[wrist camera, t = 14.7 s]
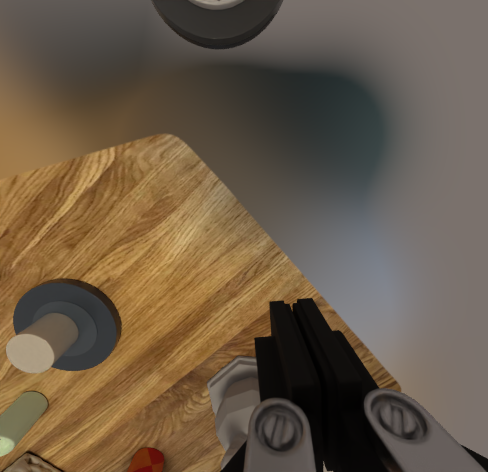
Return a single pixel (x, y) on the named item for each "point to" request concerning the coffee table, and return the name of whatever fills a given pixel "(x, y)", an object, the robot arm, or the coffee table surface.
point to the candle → (20, 419)
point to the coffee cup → (147, 461)
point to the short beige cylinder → (42, 343)
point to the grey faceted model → (234, 402)
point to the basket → (31, 465)
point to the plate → (74, 319)
